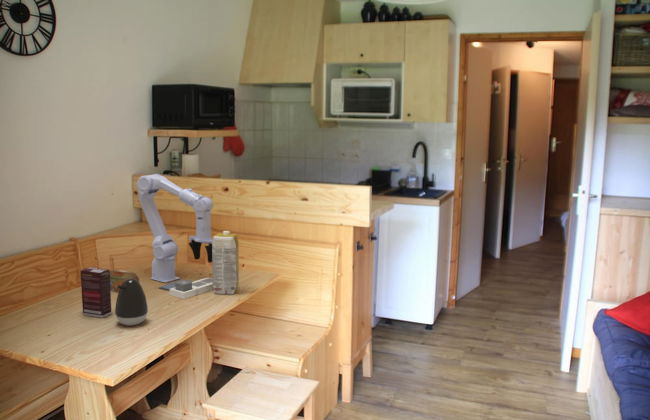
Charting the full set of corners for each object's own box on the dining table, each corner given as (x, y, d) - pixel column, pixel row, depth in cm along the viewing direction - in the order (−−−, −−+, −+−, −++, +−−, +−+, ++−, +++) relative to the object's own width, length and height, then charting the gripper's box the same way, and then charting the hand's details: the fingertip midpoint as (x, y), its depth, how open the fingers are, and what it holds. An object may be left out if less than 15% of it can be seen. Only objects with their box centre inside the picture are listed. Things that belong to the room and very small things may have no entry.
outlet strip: (169, 295, 218) (169, 287, 217) (214, 280, 237) (214, 273, 237) (183, 299, 213) (183, 291, 213) (228, 284, 233) (228, 277, 232)
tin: (104, 290, 222) (103, 269, 220) (110, 288, 225) (109, 267, 223) (135, 295, 216) (135, 274, 215) (141, 293, 219) (140, 272, 218)
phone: (158, 290, 225) (158, 287, 225) (182, 281, 237) (182, 278, 237) (171, 292, 222) (171, 290, 222) (195, 284, 234) (195, 281, 234)
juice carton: (240, 289, 226) (239, 230, 222) (234, 295, 219) (234, 234, 215) (217, 288, 227) (216, 229, 223) (211, 294, 220) (210, 233, 216)
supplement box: (112, 313, 197) (110, 269, 194) (102, 318, 192) (100, 272, 189) (91, 310, 199) (89, 266, 197) (81, 314, 195) (79, 269, 192)
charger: (175, 295, 218) (175, 282, 217) (184, 292, 221) (183, 279, 220) (183, 297, 215) (183, 284, 214) (192, 294, 219) (192, 282, 218)
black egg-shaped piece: (108, 325, 186) (106, 280, 184) (132, 315, 195) (131, 272, 193) (131, 331, 182) (129, 285, 179) (154, 321, 191) (153, 277, 188)
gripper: (183, 226, 229) (183, 259, 231) (209, 231, 221) (209, 265, 223) (196, 224, 235) (196, 256, 237) (222, 228, 227) (222, 261, 229)
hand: (203, 260), depth 231 cm, fingers open, 7 cm apart
